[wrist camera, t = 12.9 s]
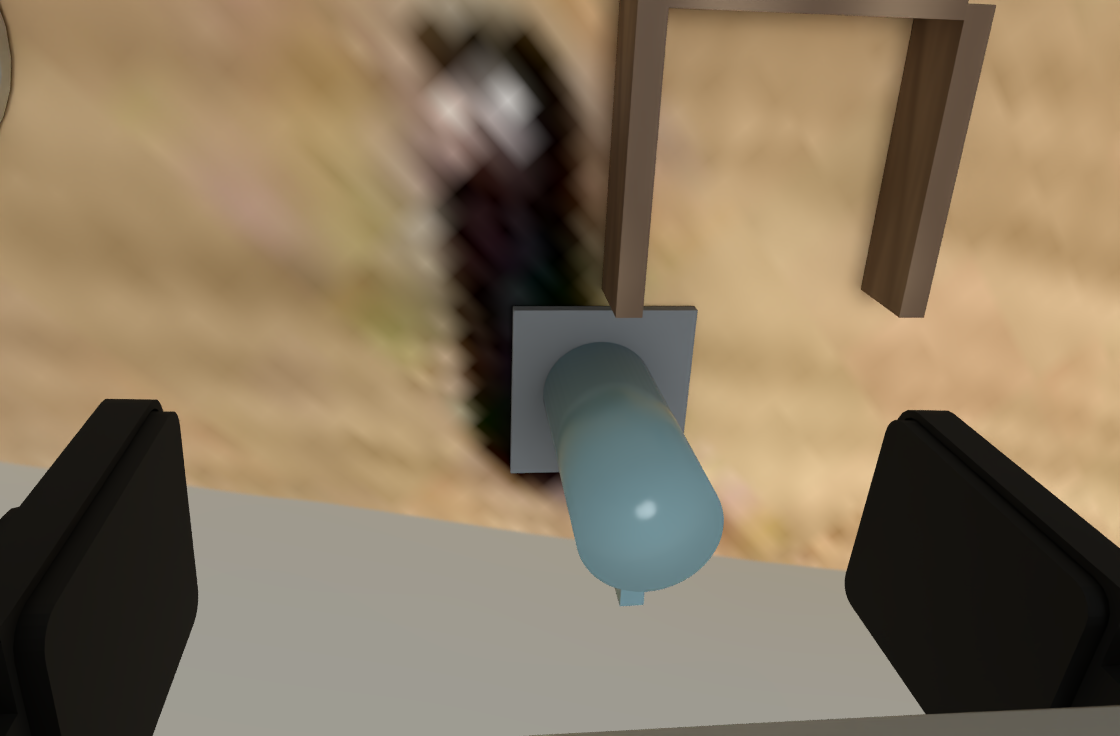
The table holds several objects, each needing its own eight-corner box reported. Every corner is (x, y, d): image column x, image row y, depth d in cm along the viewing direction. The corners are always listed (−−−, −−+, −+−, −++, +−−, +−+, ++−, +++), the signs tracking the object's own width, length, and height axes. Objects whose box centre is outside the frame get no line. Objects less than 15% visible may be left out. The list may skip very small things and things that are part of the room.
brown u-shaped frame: (601, 288, 40) (615, 317, 37) (621, -27, 35) (640, -29, 31) (883, 289, 42) (923, 317, 38) (946, -12, 36) (1000, -12, 33)
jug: (543, 343, 40) (578, 468, 29) (656, 340, 41) (731, 462, 30) (541, 483, 43) (571, 643, 33) (646, 478, 44) (709, 634, 33)
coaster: (510, 467, 44) (510, 473, 43) (512, 306, 40) (513, 310, 40) (676, 463, 45) (679, 469, 44) (694, 306, 41) (697, 310, 41)
